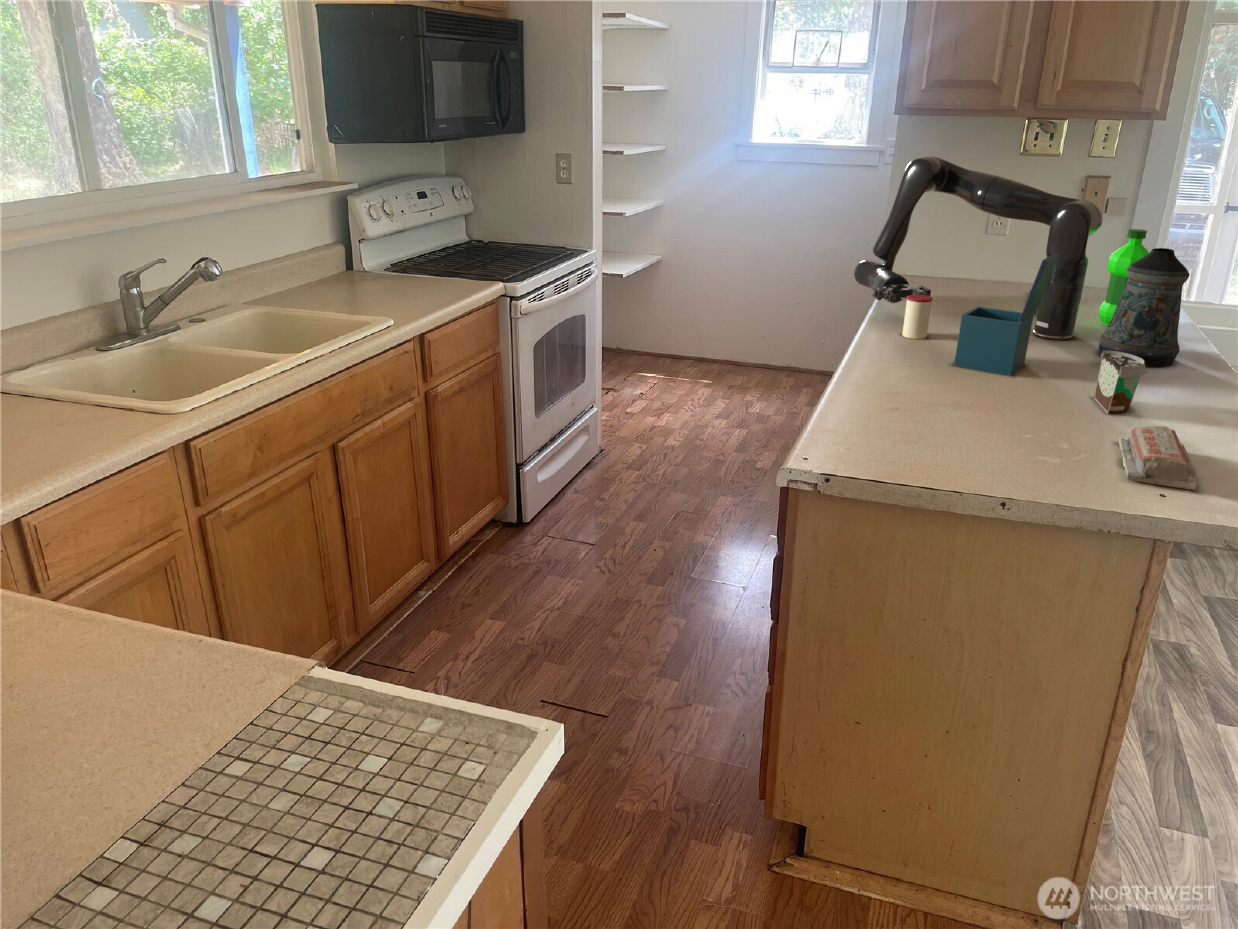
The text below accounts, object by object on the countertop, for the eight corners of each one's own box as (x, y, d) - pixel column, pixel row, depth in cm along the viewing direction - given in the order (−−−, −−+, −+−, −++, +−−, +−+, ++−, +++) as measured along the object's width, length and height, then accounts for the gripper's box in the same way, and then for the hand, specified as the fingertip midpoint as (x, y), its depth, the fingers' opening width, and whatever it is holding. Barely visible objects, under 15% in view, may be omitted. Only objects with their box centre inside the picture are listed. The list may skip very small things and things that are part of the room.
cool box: (953, 365, 200) (961, 315, 195) (968, 355, 207) (976, 306, 203) (1010, 375, 193) (1020, 323, 188) (1024, 364, 200) (1033, 314, 195)
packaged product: (1205, 464, 136) (1133, 454, 139) (1197, 492, 138) (1126, 482, 141) (1188, 426, 151) (1123, 418, 154) (1181, 451, 153) (1117, 443, 156)
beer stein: (1103, 364, 200) (1129, 254, 190) (1088, 342, 217) (1110, 240, 207) (1185, 370, 196) (1215, 258, 186) (1162, 347, 213) (1189, 244, 203)
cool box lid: (1042, 259, 181) (1046, 261, 181) (1055, 252, 189) (1059, 253, 188) (1019, 320, 188) (1023, 322, 187) (1032, 311, 196) (1036, 312, 195)
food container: (1144, 418, 168) (1157, 369, 164) (1110, 416, 169) (1122, 367, 165) (1124, 398, 179) (1135, 350, 175) (1091, 396, 180) (1102, 349, 176)
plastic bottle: (1129, 333, 225) (1152, 234, 215) (1087, 325, 232) (1108, 230, 222) (1144, 326, 231) (1167, 230, 221) (1102, 319, 238) (1123, 226, 228)
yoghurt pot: (907, 331, 227) (912, 293, 223) (930, 335, 224) (936, 296, 220) (898, 336, 223) (903, 297, 219) (921, 340, 219) (927, 301, 215)
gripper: (866, 272, 240) (885, 284, 225) (917, 272, 240) (939, 284, 225) (863, 299, 243) (881, 313, 228) (914, 299, 243) (935, 312, 228)
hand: (910, 299), depth 227 cm, fingers open, 8 cm apart
